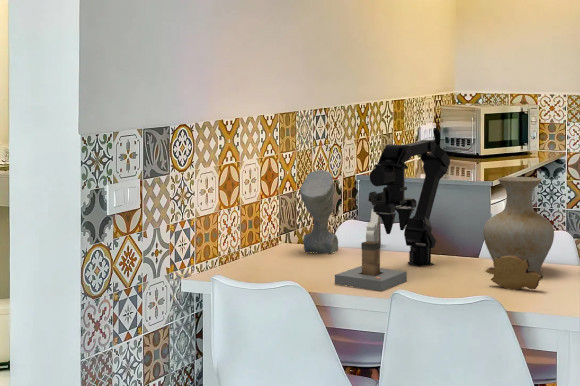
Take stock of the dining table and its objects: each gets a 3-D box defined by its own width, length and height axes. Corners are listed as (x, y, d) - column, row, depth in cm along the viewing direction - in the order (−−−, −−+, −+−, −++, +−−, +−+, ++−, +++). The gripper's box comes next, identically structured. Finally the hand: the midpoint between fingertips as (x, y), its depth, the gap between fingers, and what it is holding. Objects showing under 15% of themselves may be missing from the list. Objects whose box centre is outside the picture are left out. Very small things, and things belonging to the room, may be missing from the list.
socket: (361, 275, 267) (361, 264, 267) (406, 281, 258) (406, 270, 257) (334, 284, 254) (334, 273, 254) (381, 291, 245) (381, 279, 244)
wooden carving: (543, 289, 245) (544, 256, 244) (540, 293, 241) (541, 259, 240) (487, 284, 253) (488, 251, 251) (483, 287, 249) (484, 254, 247)
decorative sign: (373, 262, 299) (373, 221, 296) (366, 262, 299) (365, 221, 296) (380, 244, 321) (380, 206, 318) (373, 244, 322) (373, 206, 318)
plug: (368, 280, 259) (368, 240, 257) (380, 282, 256) (380, 242, 255) (361, 283, 255) (361, 242, 254) (373, 285, 253) (373, 244, 251)
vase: (494, 262, 285) (496, 174, 281) (560, 268, 274) (563, 177, 270) (473, 274, 266) (475, 180, 263) (543, 281, 255) (545, 183, 252)
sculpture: (339, 247, 315) (339, 167, 312) (332, 259, 293) (332, 173, 290) (307, 246, 317) (307, 167, 314) (298, 258, 295) (297, 173, 292)
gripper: (387, 180, 280) (387, 226, 282) (358, 185, 265) (358, 233, 267) (417, 181, 274) (417, 229, 275) (389, 187, 259) (389, 237, 260)
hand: (395, 232), depth 270 cm, fingers open, 9 cm apart
